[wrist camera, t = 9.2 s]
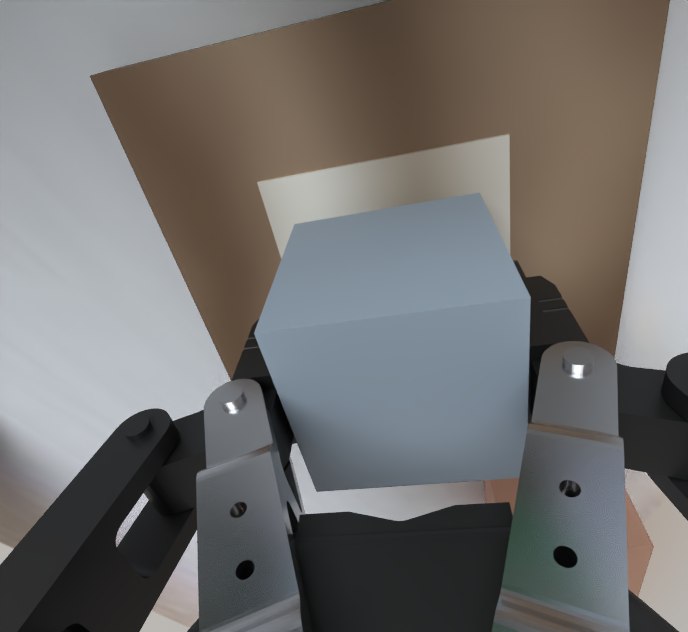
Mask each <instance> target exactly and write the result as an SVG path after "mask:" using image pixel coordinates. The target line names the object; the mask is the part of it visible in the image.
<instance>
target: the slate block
mask: <svg viewBox="0 0 688 632" xmlns="http://www.w3.org/2000/svg"><path fill="white" fill-rule="evenodd" d="M530 302H531V297H530V295H529V293H528V291H527V289H526V287H525V285H524V283H523V281H522V279H521V276H520V274H519V272H518V270H517V268H516V266H515V264H514V262H513V260H512V258H511V256H510V254H509V252H508V250H507V248H506V246H505V244H504V242H503V239H502V237H501V235H500V233H499V231H498V229H497V227H496V225H495V223H494V221H493V219H492V217H491V215H490V213H489V211H488V209H487V207H486V204H485V202H484V200H483V198H482V196H481V194H480V193H474V194H468V195H462V196H456V197H450V198H445V199H439V200H433V201H427V202H421V203H415V204H409V205H404V206H398V207H392V208H386V209H380V210H374V211H368V212H363V213H357V214H351V215H345V216H339V217H333V218H327V219H322V220H316V221H310V222H304V223H298V224H294V227H293V229H292V232H291V235H290V237H289V240H288V243H287V246H286V248H285V251H284V254H283V256H282V259H281V262H280V264H279V267H278V270H277V273H276V275H275V278H274V281H273V283H272V286H271V289H270V291H269V294H268V297H267V300H266V302H265V305H264V308H263V310H262V313H261V316H260V319H259V321H258V324H257V327H256V329H255V332H254V335H255V337H256V340H257V342H258V345H259V348H260V350H261V353H262V355H263V358H264V360H265V363H266V365H267V368H268V370H269V373H270V375H271V378H272V380H273V383H274V385H275V388H276V390H277V393H278V395H279V398H280V401H281V403H282V406H283V408H284V411H285V413H286V416H287V418H288V421H289V423H290V426H291V428H292V431H293V433H294V436H295V438H296V441H297V443H298V446H299V449H300V451H301V454H302V456H303V459H304V461H305V464H306V466H307V469H308V471H309V474H310V476H311V479H312V481H313V484H314V486H315V489H316V491H317V492H319V491H333V490H348V489H363V488H378V487H392V486H407V485H422V484H437V483H452V482H466V481H481V480H496V479H511V478H519V476H520V470H521V464H522V458H523V452H524V446H525V439H526V433H527V428H528V388H529V345H530Z"/></svg>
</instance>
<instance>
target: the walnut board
mask: <svg viewBox="0 0 688 632" xmlns="http://www.w3.org/2000/svg"><path fill="white" fill-rule="evenodd" d="M669 3H670V0H389V1H385V2H381V3H377V4H373V5H369V6H365V7H361V8H357V9H353V10H349V11H345V12H341V13H337V14H333V15H329V16H325V17H321V18H317V19H313V20H309V21H305V22H301V23H297V24H293V25H289V26H284V27H280V28H276V29H272V30H268V31H264V32H260V33H256V34H252V35H248V36H244V37H240V38H236V39H232V40H228V41H224V42H220V43H216V44H212V45H208V46H204V47H200V48H196V49H192V50H188V51H184V52H180V53H176V54H172V55H168V56H164V57H160V58H156V59H152V60H148V61H144V62H140V63H136V64H132V65H128V66H124V67H120V68H116V69H112V70H108V71H105V72H101V73H98V74H95V75H91V76H90V78H91V80H92V82H93V84H94V86H95V88H96V90H97V93H98V95H99V97H100V99H101V101H102V103H103V106H104V108H105V110H106V112H107V114H108V116H109V118H110V121H111V123H112V125H113V127H114V129H115V131H116V134H117V136H118V138H119V140H120V142H121V144H122V147H123V149H124V151H125V153H126V155H127V157H128V159H129V162H130V164H131V166H132V168H133V170H134V172H135V175H136V177H137V179H138V181H139V183H140V185H141V187H142V190H143V192H144V194H145V196H146V198H147V200H148V203H149V205H150V207H151V209H152V211H153V213H154V215H155V218H156V220H157V222H158V224H159V226H160V228H161V231H162V233H163V235H164V237H165V239H166V241H167V243H168V246H169V248H170V250H171V252H172V254H173V256H174V259H175V261H176V263H177V265H178V267H179V269H180V271H181V274H182V276H183V278H184V280H185V282H186V284H187V287H188V289H189V291H190V293H191V295H192V297H193V300H194V302H195V304H196V306H197V308H198V310H199V312H200V315H201V317H202V319H203V321H204V323H205V325H206V328H207V330H208V332H209V334H210V336H211V338H212V340H213V343H214V345H215V347H216V349H217V351H218V353H219V356H220V358H221V360H222V362H223V364H224V366H225V368H226V371H227V373H228V375H229V377H230V379H231V380H232V378H233V375H234V372H235V370H236V367H237V364H238V362H239V359H240V357H241V354H242V351H243V350H244V346H245V344H246V341H247V340H248V336H249V333H250V331H251V328H252V325H253V324H254V323H255V322H256V321H257V320H258V319H259V318H260V316H261V313H262V310H263V308H264V305H265V302H266V300H267V297H268V294H269V291H270V289H271V286H272V283H273V281H274V278H275V275H276V273H277V270H278V267H279V264H280V262H281V259H282V256H283V254H284V251H285V248H286V246H287V243H288V240H289V237H290V235H291V232H292V229H293V227H294V224H298V223H304V222H310V221H316V220H322V219H327V218H333V217H339V216H345V215H351V214H357V213H363V212H368V211H374V210H380V209H386V208H392V207H398V206H404V205H409V204H415V203H421V202H427V201H433V200H439V199H445V198H450V197H456V196H462V195H468V194H474V193H480V194H481V196H482V198H483V200H484V202H485V204H486V207H487V209H488V211H489V213H490V215H491V217H492V219H493V221H494V223H495V225H496V227H497V229H498V231H499V233H500V235H501V237H502V239H503V242H504V244H505V246H506V248H507V250H508V252H509V254H510V256H511V258H512V260H513V261H514V260H517V261H518V262H519V264H520V266H521V268H522V270H523V272H524V274H525V276H526V277H533V276H542V277H544V278H545V279H547V280H548V281H550V282H551V283H553V284H555V285H556V287H557V289H558V291H559V292H560V294H561V296H562V299H564V301H565V302H566V304H567V306H568V309H570V311H571V312H572V314H573V316H574V318H575V319H576V321H577V323H578V324H579V326H580V328H581V329H582V331H583V333H584V334H585V336H586V338H587V339H588V341H589V343H591V344H594V345H597V346H599V347H601V348H603V349H605V350H606V351H608V352H609V353H610V354H611V355H612V356H613V357H614V356H615V350H616V344H617V337H618V331H619V324H620V318H621V311H622V305H623V299H624V292H625V286H626V279H627V273H628V266H629V260H630V253H631V247H632V241H633V234H634V228H635V221H636V215H637V208H638V202H639V196H640V189H641V183H642V176H643V170H644V163H645V157H646V151H647V144H648V138H649V131H650V125H651V118H652V112H653V106H654V99H655V93H656V86H657V80H658V73H659V67H660V61H661V54H662V48H663V41H664V35H665V28H666V22H667V16H668V9H669Z"/></svg>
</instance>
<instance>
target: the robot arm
mask: <svg viewBox="0 0 688 632" xmlns="http://www.w3.org/2000/svg"><path fill="white" fill-rule="evenodd" d="M513 262H514V264H515V266H516V268H517V270H518V272H519V274H520V276H521V279H522V281H523V283H524V285H525V287H526V289H527V291H528V293H529V295H530V297H531V302H530V345H529V388H528V428H527V433H526V439H525V446H524V452H523V458H522V464H521V470H520V476H519V482H518V488H517V495H516V501H515V507H514V513H513V515H512V511H511V507H510V503H509V502H501V503H485V504H468V505H454V506H451V507H448V508H444V509H441V510H438V511H435V512H432V513H428V514H425V515H422V516H419V517H416V518H412V519H409V520H406V521H393V520H388V519H383V518H378V517H373V516H367V515H362V514H357V513H352V512H336V513H320V514H305V510H304V506H303V502H302V498H301V494H300V490H299V486H298V482H297V478H296V474H295V470H294V466H293V463H292V460H291V458H290V452H291V447H292V444H294V443H297V441H296V438H295V436H294V433H293V431H292V428H291V426H290V423H289V421H288V418H287V416H286V413H285V411H284V408H283V406H282V403H281V401H280V398H279V395H278V393H277V390H276V388H275V385H274V383H273V380H272V378H271V375H270V373H269V370H268V368H267V365H266V363H265V360H264V358H263V355H262V353H261V350H260V348H259V345H258V342H257V340H256V337H255V335H254V332H255V329H256V327H257V324H258V321H259V319H260V318H259V319H258V320H257V321H256V322H255V323H254V324H253V325H252V328H251V331H250V333H249V336H248V340H247V341H246V344H245V346H244V350H243V351H242V354H241V357H240V359H239V362H238V364H237V367H236V370H235V372H234V375H233V378H232V380H231V381H230V382H228V383H225V384H223V385H222V386H220V387H218V388H217V389H216V390H215V391H213V392H212V393H211V394H210V396H209V397H208V398H207V400H206V402H205V405H204V410H202V411H200V412H197V413H194V414H192V415H189V416H186V417H183V418H180V419H177V420H175V421H172V419H171V418H170V416H169V414H168V413H167V412H166V411H164V410H162V409H148V410H144V411H141V412H139V413H137V414H135V415H133V416H131V417H129V418H128V419H127V420H125V421H124V422H123V423H122V424H121V425H120V426H119V427H118V428H117V429H116V430H115V431H114V432H113V433H112V435H111V436H110V437H109V438H108V439H107V441H106V442H105V443H104V444H103V445H102V446H101V448H100V449H99V450H98V451H97V452H96V453H95V455H94V456H93V457H92V458H91V459H90V460H89V462H88V463H87V464H86V465H85V466H84V467H83V469H82V470H81V471H80V472H79V473H78V475H77V476H76V477H75V478H74V479H73V480H72V482H71V483H70V484H69V485H68V486H67V487H66V489H65V490H64V491H63V492H62V493H61V494H60V496H59V497H58V498H57V499H56V500H55V501H54V503H53V504H52V505H51V506H50V507H49V509H48V510H47V511H46V512H45V513H44V514H43V516H42V517H41V518H40V519H39V520H38V521H37V523H36V524H35V525H34V526H33V527H32V528H31V530H30V531H29V532H28V533H27V534H26V535H25V537H24V538H23V539H22V540H21V541H20V543H19V544H18V545H17V546H16V547H15V548H14V550H13V551H12V552H11V553H10V554H9V556H8V557H7V558H6V559H5V560H4V561H3V563H2V564H1V565H0V632H139V631H140V629H141V628H142V626H143V624H144V622H145V621H146V619H147V617H148V615H149V614H150V612H151V610H152V608H153V607H154V605H155V603H156V601H157V599H158V598H159V596H160V594H161V592H162V591H163V589H164V587H165V585H166V583H167V582H168V580H169V578H170V576H171V575H172V573H173V571H174V569H175V567H176V566H177V564H178V562H179V560H180V559H181V557H182V555H183V553H184V552H185V550H186V548H187V546H188V544H189V543H190V541H191V539H192V537H193V536H194V534H195V532H196V530H197V543H198V588H199V619H198V620H197V621H196V622H195V623H194V624H193V625H192V627H191V628H190V629H189V630H188V631H187V632H679V631H677V630H676V629H675V628H674V627H673V626H671V625H670V624H669V623H668V622H667V621H666V620H664V619H663V618H662V617H661V616H660V615H659V614H657V613H656V612H655V611H654V610H653V609H652V608H650V607H649V606H648V605H647V604H646V603H644V602H643V601H642V600H641V599H640V598H638V597H637V596H636V595H635V594H634V593H633V592H631V591H630V590H629V589H628V565H627V533H626V500H625V468H626V469H631V470H637V471H642V472H647V474H648V475H649V476H650V478H651V479H652V480H653V481H654V483H655V484H656V485H657V486H658V487H659V488H660V489H661V491H662V492H663V493H664V494H665V495H666V496H667V497H668V499H669V500H670V501H671V502H672V503H673V504H674V506H675V507H676V508H677V509H678V510H679V511H680V512H681V513H682V515H683V516H684V517H685V518H686V519H687V520H688V353H684V354H681V355H678V356H676V357H674V358H672V359H671V360H670V361H669V363H668V364H667V367H666V371H664V370H654V369H645V368H636V367H629V366H625V365H621V364H618V363H616V361H615V359H614V357H613V356H612V355H611V354H610V353H609V352H608V351H606V350H605V349H603V348H601V347H599V346H597V345H594V344H591V343H589V341H588V339H587V338H586V336H585V334H584V333H583V331H582V329H581V328H580V326H579V324H578V323H577V321H576V319H575V318H574V316H573V314H572V312H571V311H570V309H568V306H567V304H566V302H565V301H564V299H562V296H561V294H560V292H559V291H558V289H557V287H556V285H555V284H553V283H551V282H550V281H548V280H547V279H545V278H544V277H542V276H533V277H526V276H525V274H524V272H523V270H522V268H521V266H520V264H519V262H518V261H517V260H514V261H513ZM143 493H144V494H145V495H146V497H147V498H148V499H149V501H148V502H147V504H146V505H145V507H144V508H143V510H142V511H141V513H140V514H139V516H138V517H137V519H136V520H135V521H134V523H133V524H132V526H131V527H130V529H129V530H128V532H127V533H126V535H125V536H124V538H123V539H122V541H121V542H120V544H119V545H118V546H117V548H116V535H117V532H118V529H119V527H120V526H121V524H122V522H123V521H124V520H125V518H126V517H127V515H128V514H129V512H130V511H131V510H132V508H133V507H134V505H135V504H136V503H137V501H138V500H139V498H140V497H141V495H142V494H143Z"/></svg>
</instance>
